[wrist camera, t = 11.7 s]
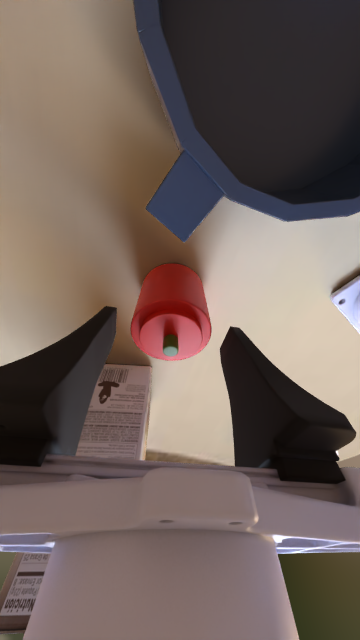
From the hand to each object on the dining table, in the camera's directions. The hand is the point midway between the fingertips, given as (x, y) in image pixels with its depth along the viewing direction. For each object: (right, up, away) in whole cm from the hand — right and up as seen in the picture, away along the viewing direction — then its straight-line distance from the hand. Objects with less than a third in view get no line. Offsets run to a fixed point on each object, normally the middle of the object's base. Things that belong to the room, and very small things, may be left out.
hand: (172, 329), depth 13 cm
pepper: (0, +3, +4) cm, 5 cm away
